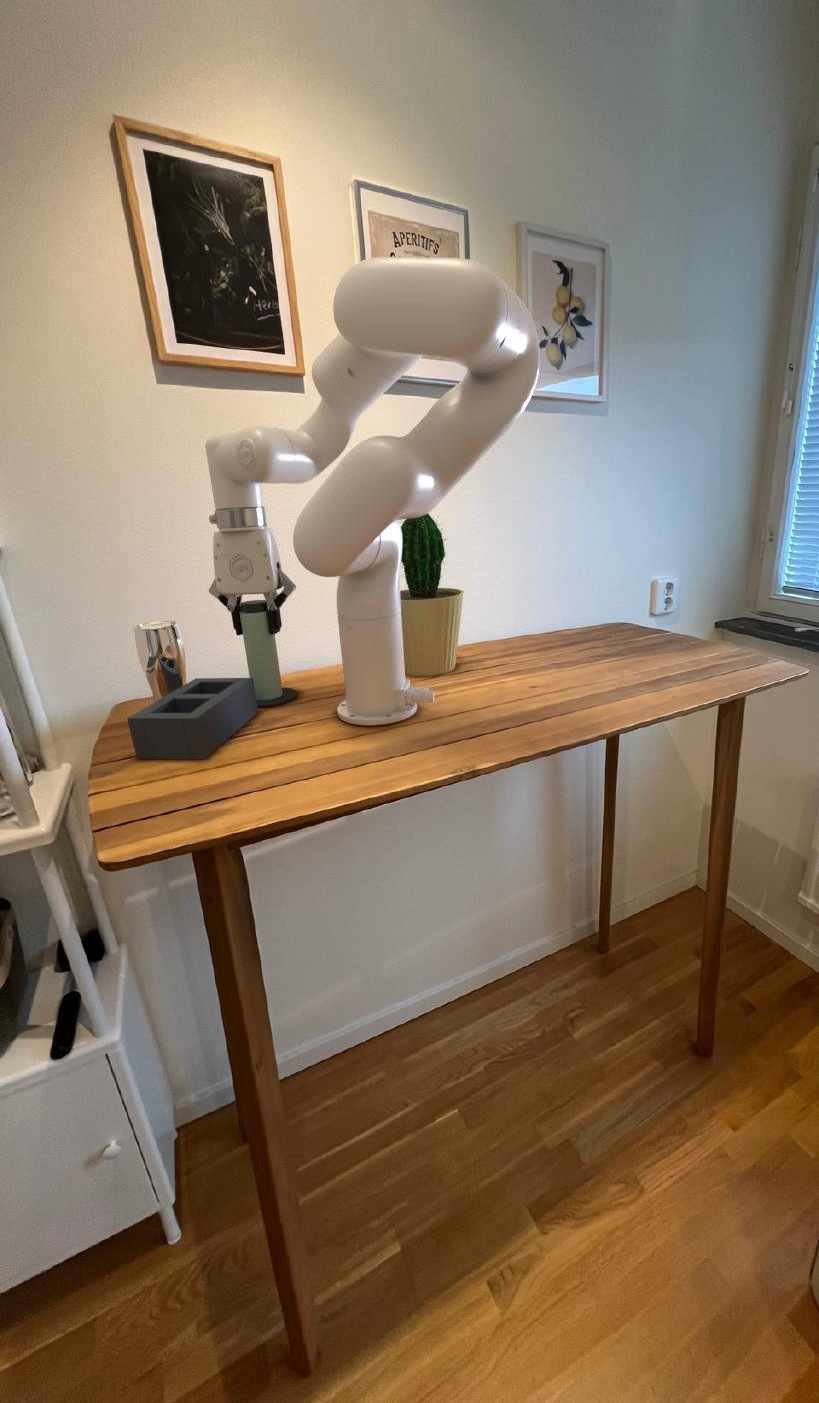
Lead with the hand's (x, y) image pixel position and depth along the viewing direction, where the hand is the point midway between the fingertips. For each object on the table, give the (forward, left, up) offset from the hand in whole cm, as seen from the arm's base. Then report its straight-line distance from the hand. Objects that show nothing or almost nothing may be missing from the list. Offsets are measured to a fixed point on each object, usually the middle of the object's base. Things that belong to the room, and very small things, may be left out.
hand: (258, 632), depth 93 cm
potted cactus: (-26, -18, -12) cm, 34 cm away
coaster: (0, 0, -12) cm, 12 cm away
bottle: (0, 0, -11) cm, 11 cm away
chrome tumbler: (+14, +7, -12) cm, 20 cm away
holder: (+4, +16, -12) cm, 20 cm away
